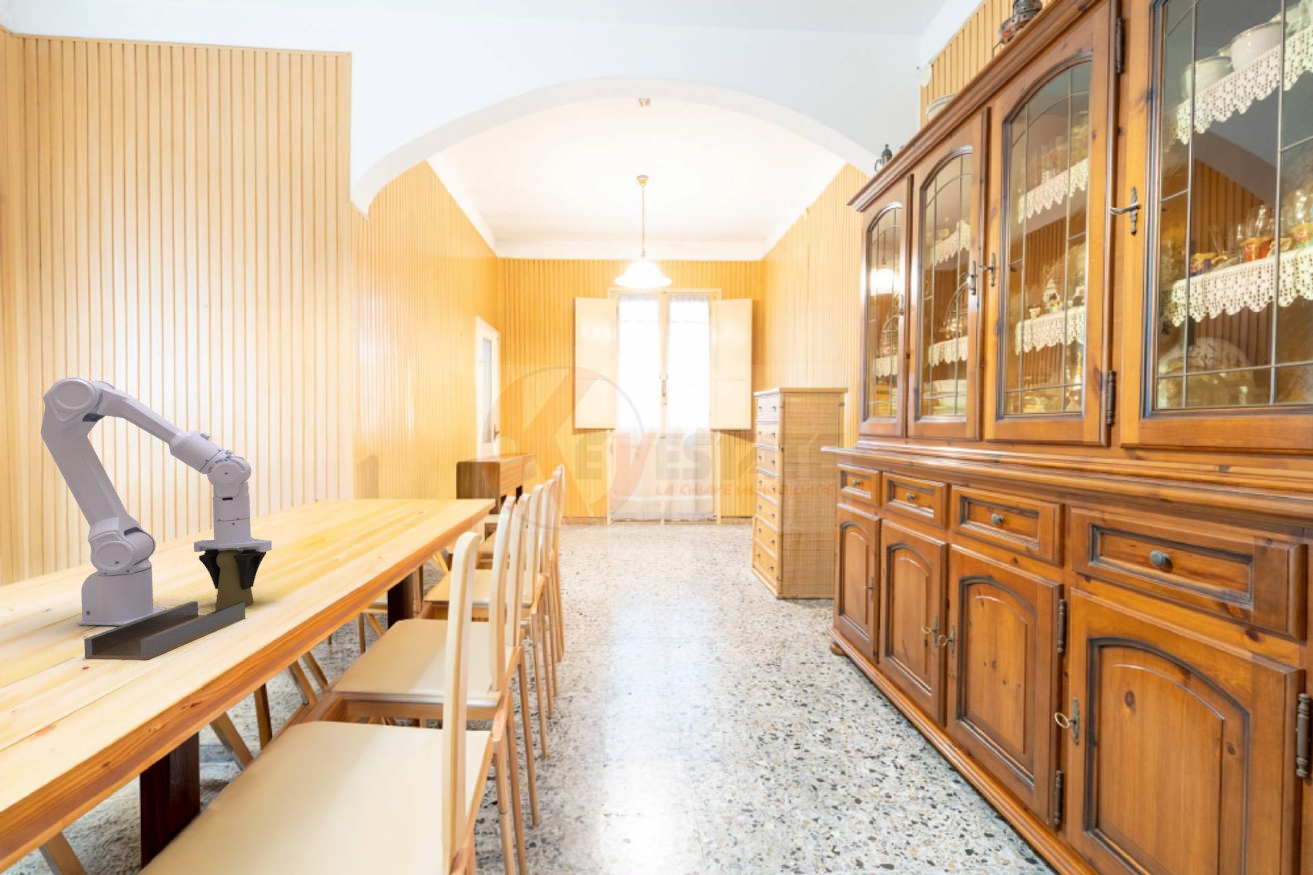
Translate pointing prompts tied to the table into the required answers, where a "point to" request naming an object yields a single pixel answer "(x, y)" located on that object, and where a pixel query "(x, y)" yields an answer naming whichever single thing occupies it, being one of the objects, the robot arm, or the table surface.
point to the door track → (160, 632)
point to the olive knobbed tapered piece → (230, 581)
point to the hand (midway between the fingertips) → (234, 587)
